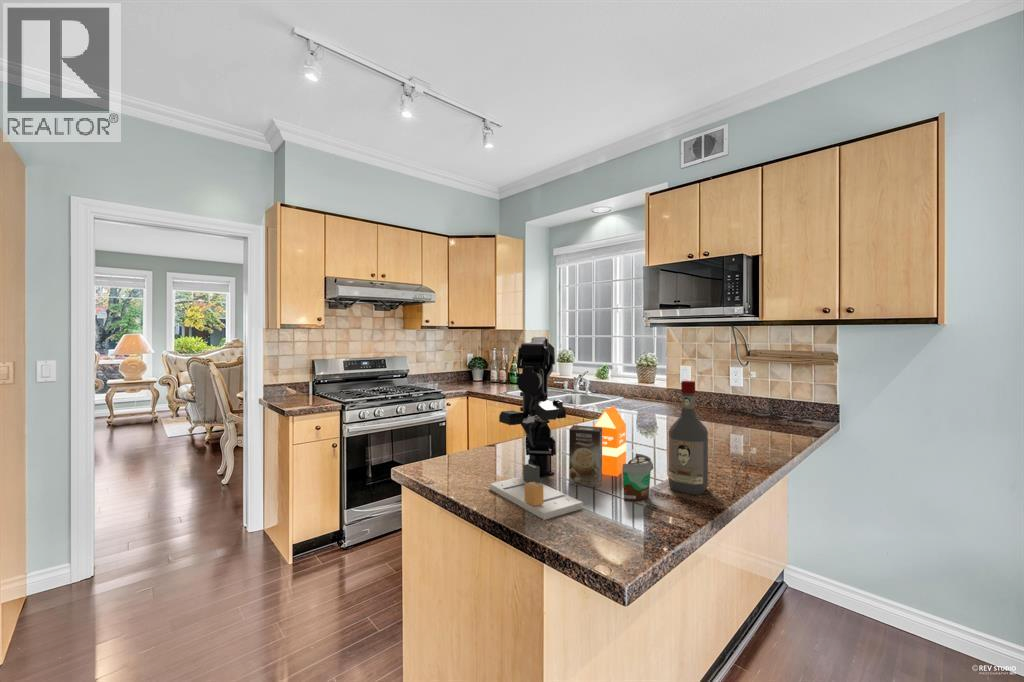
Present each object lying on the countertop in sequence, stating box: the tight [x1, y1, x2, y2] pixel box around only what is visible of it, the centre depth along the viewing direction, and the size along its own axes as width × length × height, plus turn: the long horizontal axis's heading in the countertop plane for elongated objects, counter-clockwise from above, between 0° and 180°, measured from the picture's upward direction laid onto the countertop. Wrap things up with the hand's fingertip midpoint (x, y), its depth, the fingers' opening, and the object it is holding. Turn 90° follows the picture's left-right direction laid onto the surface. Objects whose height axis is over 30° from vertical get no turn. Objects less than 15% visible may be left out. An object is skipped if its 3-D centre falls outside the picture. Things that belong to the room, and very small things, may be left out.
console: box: [489, 475, 584, 521], centre depth 118 cm, size 12×25×2 cm, turn 33°
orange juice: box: [592, 406, 627, 477], centre depth 142 cm, size 8×9×20 cm
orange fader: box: [525, 482, 543, 506], centre depth 110 cm, size 3×4×5 cm
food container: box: [622, 453, 654, 503], centre depth 119 cm, size 12×6×10 cm, turn 148°
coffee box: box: [568, 424, 603, 488], centre depth 131 cm, size 9×6×16 cm
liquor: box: [668, 380, 709, 496], centre depth 125 cm, size 9×9×30 cm
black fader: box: [522, 463, 541, 483], centre depth 126 cm, size 3×4×5 cm
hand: (533, 446), depth 121 cm, fingers closed
